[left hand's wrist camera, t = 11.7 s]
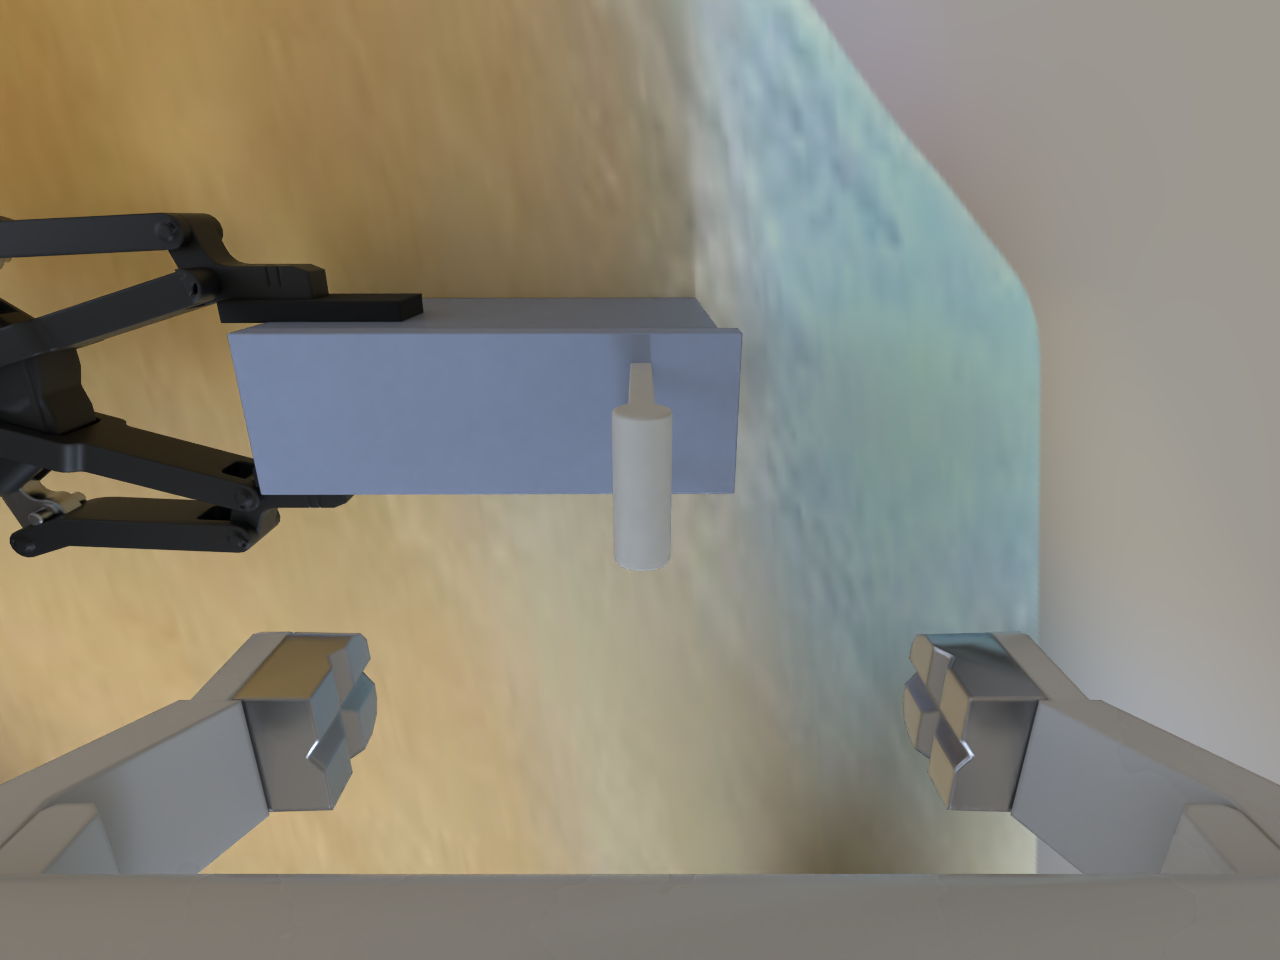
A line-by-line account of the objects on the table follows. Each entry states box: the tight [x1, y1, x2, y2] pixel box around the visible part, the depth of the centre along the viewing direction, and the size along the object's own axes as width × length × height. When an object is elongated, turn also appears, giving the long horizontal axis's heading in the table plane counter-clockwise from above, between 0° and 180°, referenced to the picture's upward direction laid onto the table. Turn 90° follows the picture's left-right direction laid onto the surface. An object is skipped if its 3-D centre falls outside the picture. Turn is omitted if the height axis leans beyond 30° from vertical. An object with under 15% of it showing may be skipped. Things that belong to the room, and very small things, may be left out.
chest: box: [245, 298, 717, 329], centre depth 29 cm, size 16×6×10 cm, turn 90°
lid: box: [227, 328, 742, 571], centre depth 20 cm, size 17×6×8 cm, turn 90°
